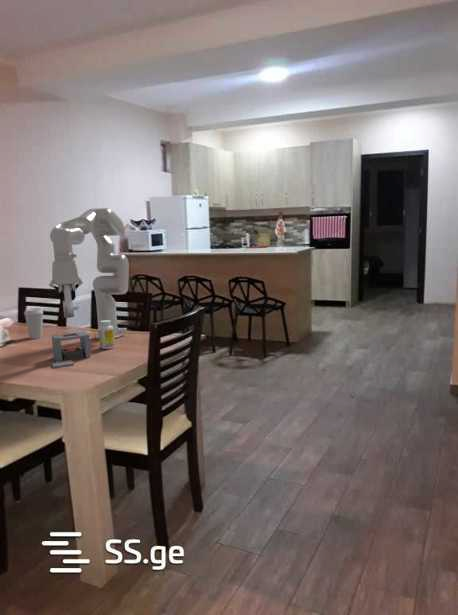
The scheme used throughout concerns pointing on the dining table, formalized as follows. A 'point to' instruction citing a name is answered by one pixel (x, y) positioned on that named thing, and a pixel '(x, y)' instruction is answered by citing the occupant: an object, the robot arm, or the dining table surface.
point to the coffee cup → (34, 322)
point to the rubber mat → (62, 364)
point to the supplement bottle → (106, 335)
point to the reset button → (71, 349)
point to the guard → (78, 354)
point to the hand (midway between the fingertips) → (67, 300)
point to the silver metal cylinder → (67, 301)
